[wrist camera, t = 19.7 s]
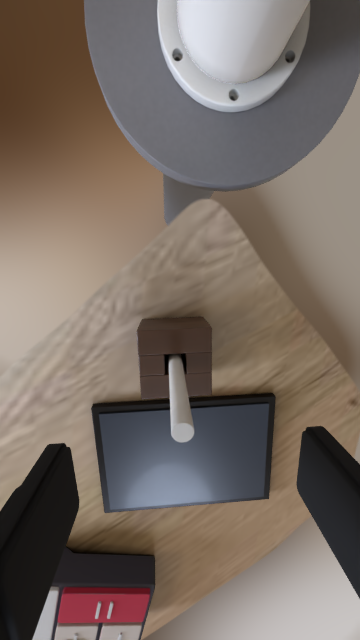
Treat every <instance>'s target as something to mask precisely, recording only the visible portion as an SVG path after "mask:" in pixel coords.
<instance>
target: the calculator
mask: <svg viewBox="0 0 360 640" xmlns="http://www.w3.org/2000/svg"><path fill="white" fill-rule="evenodd" d="M154 589H155V558H154V557H153V556H138V555H108V554H79V553H73V552H71V551H70V550H69V549H68V548H67V547H65V549H64V552H63V555H62V557H61V560H60V563H59V566H58V569H57V572H56V574H55V577H54V580H53V583H52V586H51V588H50V591H49V594H48V597H47V600H46V602H45V605H44V608H43V611H42V614H41V617H40V619H39V622H38V625H37V628H36V631H35V633H34V636H33V639H32V640H140V639H141V636H142V632H143V628H144V625H145V621H146V618H147V614H148V610H149V607H150V603H151V599H152V596H153V592H154Z"/></svg>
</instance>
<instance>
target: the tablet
mask: <svg viewBox="0 0 360 640" xmlns="http://www.w3.org/2000/svg"><path fill="white" fill-rule="evenodd" d="M275 398H276V397H275V395H274V394H273V393H265V394H248V395H232V396H215V397H199V398H189V403H190V409H191V415H192V420H193V426H194V435H193V437H192V438H191V439H190V440H189V441H187V442H177V441H176V440H174V439H173V437H172V435H171V416H170V399H166V400H150V401H133V402H117V403H101V404H93V406H92V408H91V410H92V418H93V425H94V433H95V441H96V449H97V457H98V465H99V473H100V481H101V488H102V496H103V504H104V512H105V513H110V512H121V511H133V510H145V509H156V508H168V507H180V506H191V505H203V504H215V503H226V502H238V501H250V500H262V499H269V490H270V475H271V459H272V444H273V428H274V413H275Z"/></svg>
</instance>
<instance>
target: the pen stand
mask: <svg viewBox="0 0 360 640" xmlns="http://www.w3.org/2000/svg"><path fill="white" fill-rule="evenodd" d="M137 344H138V355H139V356H138V357H139V371H140V385H141V398H142V399H151V398H168V397H170V387H169V359H168V356H165V354H178V353H183V355H182V356H181V359H182V364H183V370H184V375H185V381H186V387H187V392H188V396H201V395H212V373H211V372H212V352H211V351H212V328H211V326H210V325H209V324H208V323H207V321H206V320H205V319H204V317H187V318H163V319H142V321H141V323H140V325H139V327H138V329H137Z"/></svg>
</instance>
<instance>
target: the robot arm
mask: <svg viewBox="0 0 360 640" xmlns="http://www.w3.org/2000/svg"><path fill="white" fill-rule="evenodd" d="M157 18H158V34H159V39H160V44H161V49H162V52H163V55H164V58H165V60H166V63H167V66H168V68H169V69H170V71H171V73H172V75H173V77H174V78H175V80H176V81H177V83H178V84H179V85H180V86H181V87H182V89H183V90H184V91H185V92H186V93H187V94H188V95H189V96H191V97H192V98H193V99H194V100H195V101H197V102H198V103H200V104H202V105H204V106H206V107H208V108H210V109H214V110H217V111H221V112H240V111H246V110H249V109H252V108H254V107H257V106H259V105H261V104H262V103H264V102H265V101H267V100H268V99H270V98H271V97H272V96H273V95H274V94H275V93H276V92H277V91H278V90H279V89H280V88H281V87H282V86H283V84H284V83H285V82H286V80H287V79H288V77H289V76H290V74H291V73H292V71H293V70H294V68H295V66H296V65H297V63H298V61H299V59H300V56H301V53H302V51H303V48H304V46H305V43H306V38H307V34H308V29H309V20H310V0H158V7H157ZM231 99H232V100H233V101H232V100H231ZM297 489H298V492H299V494H300V496H301V498H302V499H303V501H304V503H305V505H306V506H307V508H308V510H309V512H310V513H311V515H312V517H313V518H314V520H315V522H316V523H317V525H318V527H319V529H320V530H321V532H322V534H323V536H324V537H325V539H326V541H327V543H328V544H329V546H330V548H331V550H332V551H333V553H334V555H335V557H336V558H337V560H338V562H339V563H340V565H341V567H342V569H343V570H344V572H345V574H346V576H347V577H348V579H349V581H350V582H351V584H352V586H353V588H354V589H355V591H356V593H357V595H358V596H359V598H360V464H359V463H358V462H357V461H356V460H355V459H354V458H353V457H352V456H351V455H350V454H349V453H348V452H347V451H346V450H345V449H344V448H343V447H342V446H341V444H340V443H339V442H338V441H337V440H336V439H335V438H334V437H333V436H332V435H331V434H330V433H329V432H328V431H327V430H326V429H325V428H324V427H322V426H316V427H307V428H306V430H305V431H303V433H302V440H301V449H300V458H299V467H298V475H297ZM78 509H79V496H78V490H77V484H76V478H75V472H74V466H73V460H72V454H71V449H70V447H66V444H65V443H59V444H49V445H47V447H46V448H45V450H44V451H43V453H42V454H41V456H40V457H39V459H38V460H37V462H36V463H35V465H34V466H33V468H32V469H31V471H30V473H29V474H28V476H27V477H26V479H25V480H24V482H23V483H22V485H21V486H19V487H18V488H16V489H15V491H14V492H13V493H12V495H11V496H10V498H9V499H8V501H7V502H6V504H5V505H4V507H3V508H2V510H1V511H0V640H32V639H33V636H34V633H35V631H36V628H37V625H38V622H39V619H40V617H41V614H42V611H43V608H44V605H45V602H46V600H47V597H48V594H49V591H50V588H51V586H52V583H53V580H54V577H55V574H56V572H57V569H58V566H59V563H60V560H61V557H62V555H63V552H64V549H65V546H66V543H67V541H68V538H69V535H70V532H71V529H72V527H73V524H74V521H75V518H76V515H77V512H78Z"/></svg>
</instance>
